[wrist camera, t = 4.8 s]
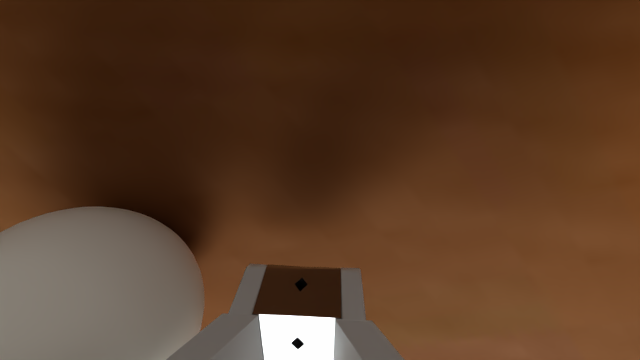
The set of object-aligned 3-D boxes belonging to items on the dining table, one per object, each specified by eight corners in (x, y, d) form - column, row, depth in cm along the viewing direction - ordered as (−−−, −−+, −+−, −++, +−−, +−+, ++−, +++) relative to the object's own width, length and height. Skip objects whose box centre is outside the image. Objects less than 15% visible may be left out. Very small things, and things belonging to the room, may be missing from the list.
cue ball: (-388, 420, 3) (-28, 188, 8) (-64, 555, 6) (65, 321, 11) (143, 299, 4) (187, 157, 9) (219, 457, 7) (223, 284, 12)
